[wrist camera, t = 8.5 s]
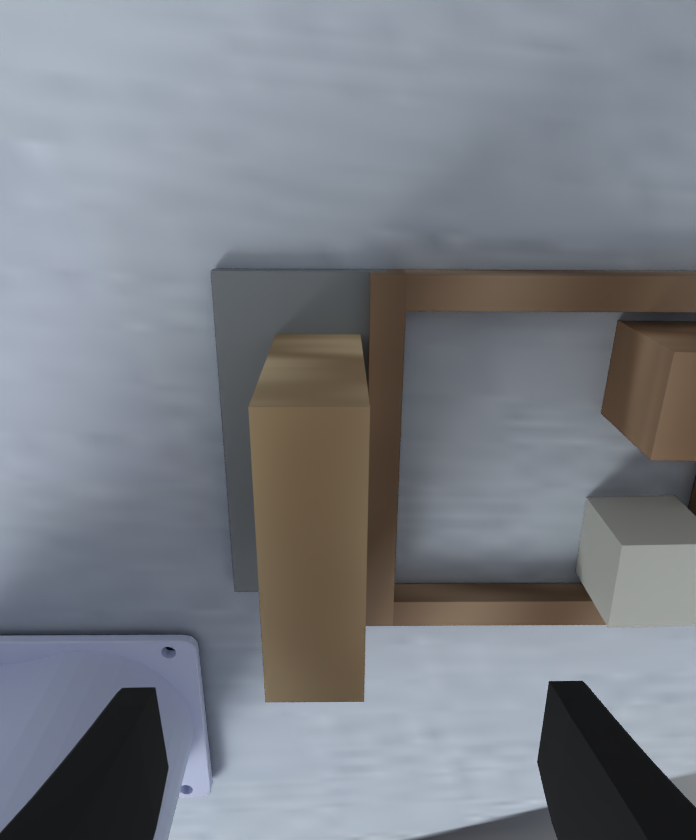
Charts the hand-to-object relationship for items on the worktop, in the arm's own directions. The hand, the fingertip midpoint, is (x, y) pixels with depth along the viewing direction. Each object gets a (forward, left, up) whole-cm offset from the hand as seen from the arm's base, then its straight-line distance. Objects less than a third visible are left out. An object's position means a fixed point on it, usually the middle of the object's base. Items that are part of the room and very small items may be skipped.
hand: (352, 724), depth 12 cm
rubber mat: (-1, +1, -10) cm, 10 cm away
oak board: (-1, +1, -10) cm, 10 cm away
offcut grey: (+10, -2, -10) cm, 14 cm away
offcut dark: (+10, +4, -10) cm, 14 cm away
